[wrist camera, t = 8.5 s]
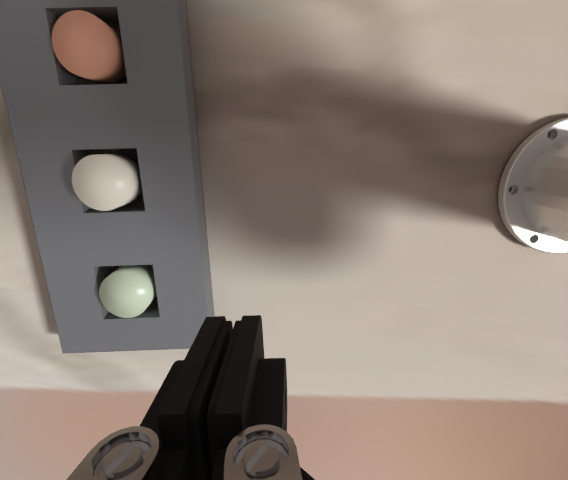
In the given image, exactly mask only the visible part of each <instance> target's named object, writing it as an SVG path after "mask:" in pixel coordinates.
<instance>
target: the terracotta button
mask: <svg viewBox="0 0 568 480" xmlns="http://www.w3.org/2000/svg"><path fill="white" fill-rule="evenodd" d="M52 46H53V50H54V52H55V55H56V57H57V59H58V60H59V62H60V63H61V64H62V65H63V66H64V67H65V68H66V69H67V70H68V71H70V72H71V73H73V74H75V75H78V76H80V77H83V78H86V79H89V80H92V81H94V82H97V83H101V84H112V83H115V82H118V81H119V80H121V79H122V78H123V77H124V76H125V74H126V69H125V61H124V54H123V47H122V40H121V35H120V34H119V33H118V32H117V31H116V30H114V29H113V28H112V27H110V26H109V25H107V24H106V23H105V22H103V21H102V20H101V19H99V18H98V17H96V16H95V15H93V14H91V13H89V12H86V11H82V10H73V11H69V12H67V13H65V14H63V15H62V16H61V17H60V18H59V19H58V20H57V21H56V23H55V25H54V28H53V31H52Z"/></svg>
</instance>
